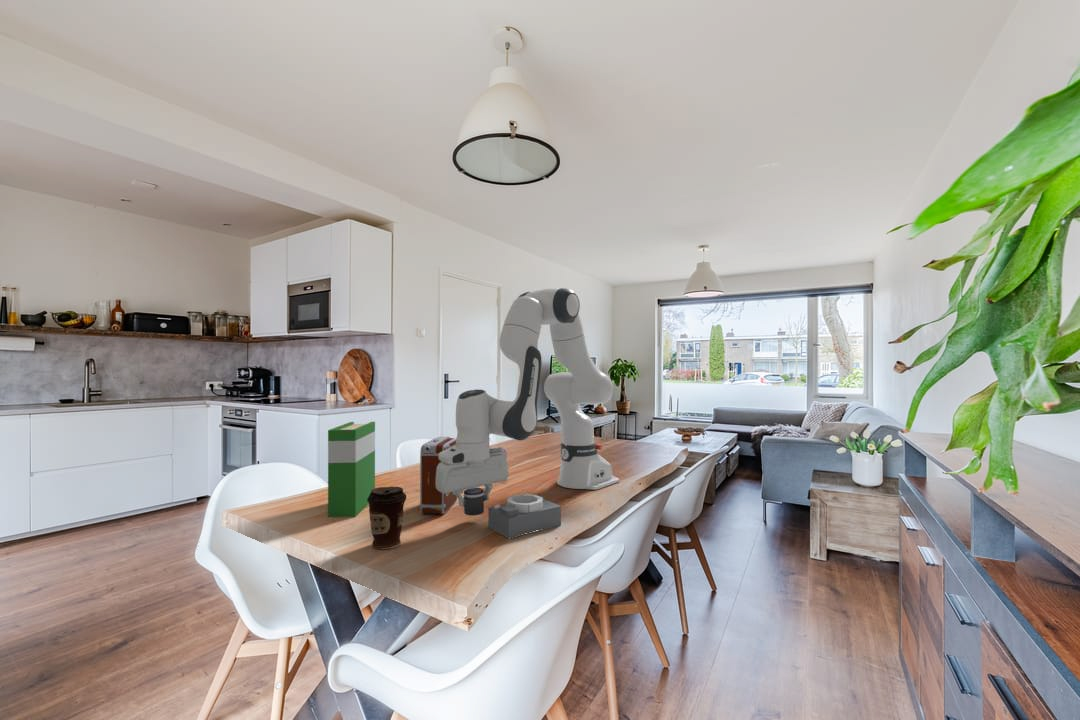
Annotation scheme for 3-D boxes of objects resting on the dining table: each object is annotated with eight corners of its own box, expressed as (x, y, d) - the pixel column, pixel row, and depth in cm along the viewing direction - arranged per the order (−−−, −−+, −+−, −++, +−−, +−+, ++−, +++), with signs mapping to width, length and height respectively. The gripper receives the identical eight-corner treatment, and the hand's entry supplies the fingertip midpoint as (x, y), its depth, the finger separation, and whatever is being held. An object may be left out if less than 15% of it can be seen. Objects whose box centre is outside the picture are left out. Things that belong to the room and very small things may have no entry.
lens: (478, 507, 126) (477, 485, 126) (487, 512, 122) (487, 490, 122) (460, 511, 123) (460, 489, 123) (469, 517, 119) (469, 493, 118)
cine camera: (466, 496, 146) (466, 433, 146) (447, 516, 127) (447, 444, 127) (437, 495, 147) (437, 432, 147) (415, 515, 128) (415, 443, 128)
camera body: (538, 514, 128) (538, 489, 128) (560, 525, 120) (560, 498, 120) (488, 527, 119) (488, 500, 119) (509, 539, 111) (509, 510, 111)
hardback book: (350, 498, 144) (350, 421, 144) (374, 497, 144) (374, 421, 144) (328, 517, 126) (328, 430, 126) (355, 516, 127) (355, 430, 127)
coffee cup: (384, 555, 101) (384, 496, 101) (358, 548, 106) (358, 491, 106) (413, 542, 109) (413, 487, 109) (388, 535, 113) (388, 482, 113)
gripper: (500, 444, 131) (501, 492, 131) (432, 454, 119) (433, 507, 119) (512, 448, 126) (513, 498, 126) (442, 459, 114) (443, 514, 114)
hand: (473, 503), depth 122 cm, fingers closed on lens, 5 cm apart
